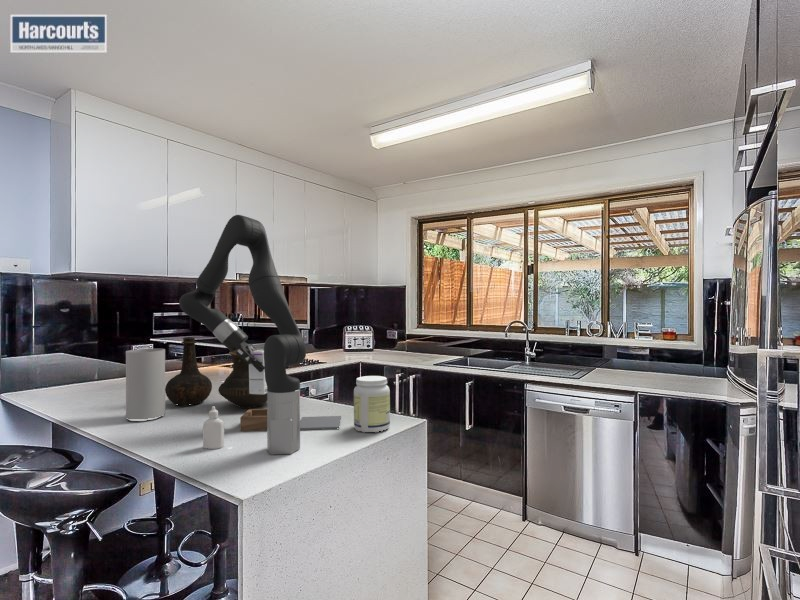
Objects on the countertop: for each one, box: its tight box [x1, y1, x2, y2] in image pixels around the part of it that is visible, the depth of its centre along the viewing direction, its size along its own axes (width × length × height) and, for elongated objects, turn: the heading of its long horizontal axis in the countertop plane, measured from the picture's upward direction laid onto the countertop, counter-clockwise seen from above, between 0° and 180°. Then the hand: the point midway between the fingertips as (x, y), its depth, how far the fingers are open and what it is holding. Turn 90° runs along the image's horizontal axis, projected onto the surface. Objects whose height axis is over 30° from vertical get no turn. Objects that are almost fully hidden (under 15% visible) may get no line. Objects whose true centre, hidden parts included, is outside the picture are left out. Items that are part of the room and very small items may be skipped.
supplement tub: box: [353, 375, 391, 433], centre depth 145 cm, size 12×12×17 cm
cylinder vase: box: [125, 348, 166, 419], centre depth 160 cm, size 12×12×25 cm
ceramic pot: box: [218, 348, 267, 409], centre depth 178 cm, size 24×24×22 cm
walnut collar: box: [239, 408, 267, 432], centre depth 149 cm, size 11×11×4 cm
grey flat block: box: [300, 415, 342, 431], centre depth 151 cm, size 14×14×1 cm
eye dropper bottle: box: [202, 406, 225, 450], centre depth 127 cm, size 4×6×12 cm
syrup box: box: [249, 349, 267, 394], centre depth 149 cm, size 6×6×14 cm
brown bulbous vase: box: [165, 336, 213, 406], centre depth 182 cm, size 18×18×28 cm
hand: (265, 368), depth 149 cm, fingers closed on syrup box, 7 cm apart
